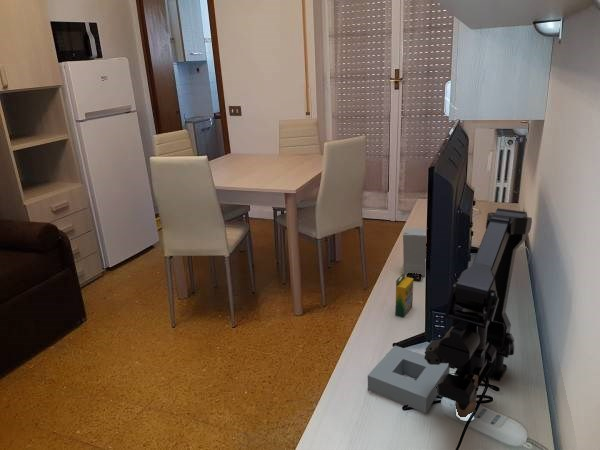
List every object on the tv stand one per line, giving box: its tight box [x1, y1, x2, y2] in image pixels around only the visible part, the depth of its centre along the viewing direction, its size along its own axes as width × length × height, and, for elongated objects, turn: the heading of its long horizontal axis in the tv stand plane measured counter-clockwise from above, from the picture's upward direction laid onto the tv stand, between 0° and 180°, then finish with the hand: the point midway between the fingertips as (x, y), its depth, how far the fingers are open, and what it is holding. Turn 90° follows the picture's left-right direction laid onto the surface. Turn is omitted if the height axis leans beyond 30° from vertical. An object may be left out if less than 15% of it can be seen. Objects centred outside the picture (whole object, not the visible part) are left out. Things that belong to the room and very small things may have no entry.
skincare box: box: [402, 227, 427, 277], centre depth 162 cm, size 8×7×16 cm
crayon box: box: [394, 270, 414, 318], centre depth 138 cm, size 7×3×12 cm, turn 148°
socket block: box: [367, 345, 451, 414], centre depth 108 cm, size 14×14×4 cm
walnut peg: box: [455, 375, 479, 417], centre depth 96 cm, size 4×4×10 cm
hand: (465, 403), depth 97 cm, fingers closed on walnut peg, 4 cm apart
